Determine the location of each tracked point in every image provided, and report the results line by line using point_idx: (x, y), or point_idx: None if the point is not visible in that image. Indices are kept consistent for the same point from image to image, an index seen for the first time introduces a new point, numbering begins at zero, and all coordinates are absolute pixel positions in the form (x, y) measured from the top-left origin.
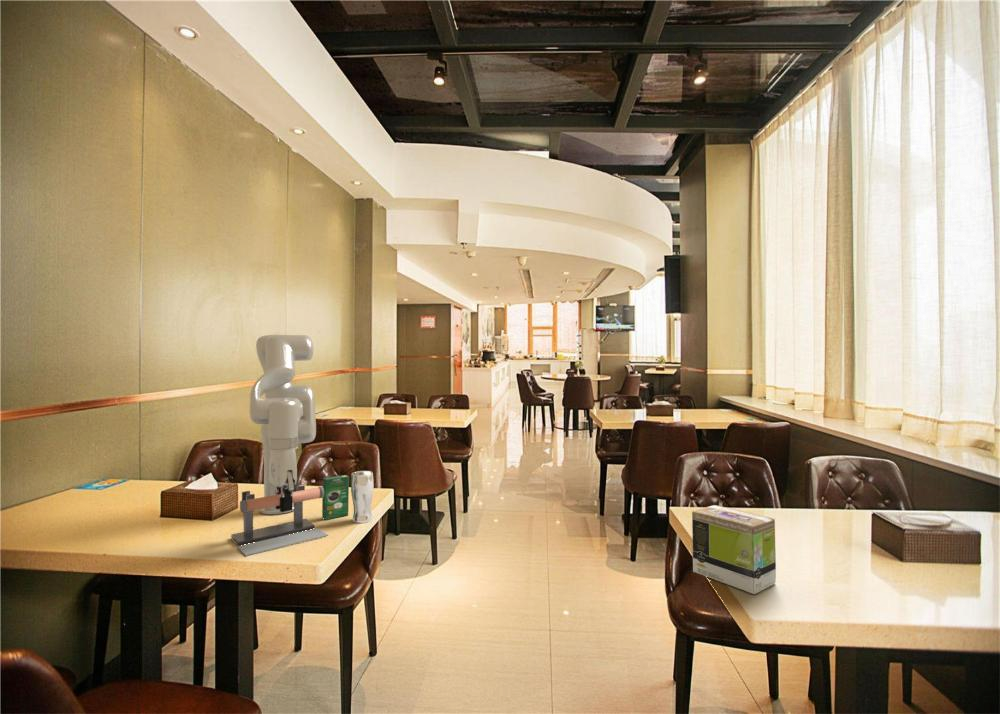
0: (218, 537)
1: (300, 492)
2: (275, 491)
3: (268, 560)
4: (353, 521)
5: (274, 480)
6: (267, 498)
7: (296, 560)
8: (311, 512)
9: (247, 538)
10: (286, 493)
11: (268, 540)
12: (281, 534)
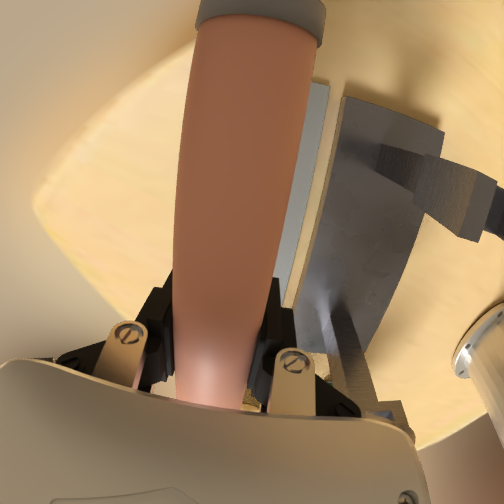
0: (473, 119)
1: None
2: (312, 367)
3: (116, 115)
4: (244, 404)
5: (119, 448)
6: (184, 235)
7: (67, 179)
8: (407, 380)
9: (358, 138)
10: (78, 352)
11: (294, 191)
12: (309, 250)
